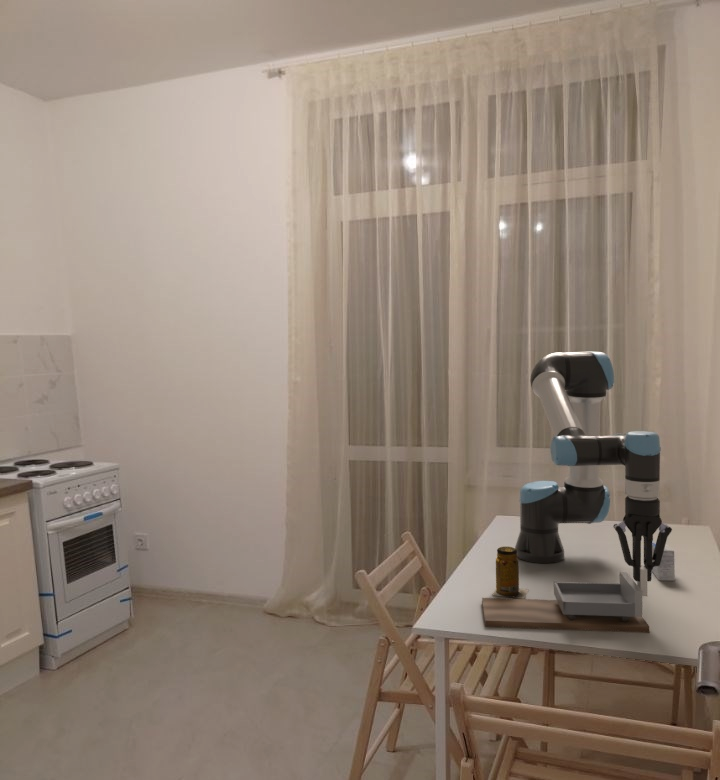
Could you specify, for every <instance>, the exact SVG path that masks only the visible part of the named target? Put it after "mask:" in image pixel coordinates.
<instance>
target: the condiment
mask: <svg viewBox="0 0 720 780" xmlns="http://www.w3.org/2000/svg"><path fill="white" fill-rule="evenodd" d="M496 552H497V554H496V558H495V590H494V591H493V592H492V596H498V597H501V598H502V597H504V598H512V599H526V596H527V595H528V592H529V589H527V588H520V581H519V580H520V579H519V578H520V575H519V574H520V572H519V567H520V564H519V563H520V562H519V558H518V557H517V550H516V549H515V547H512V546H501V547H498V548H497V549H496Z"/></svg>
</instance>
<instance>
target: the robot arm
mask: <svg viewBox="0 0 720 780" xmlns="http://www.w3.org/2000/svg"><path fill="white" fill-rule="evenodd" d="M610 359H611V358H610V357H609V356H608V355H607V354H606V353H605V352H603V351H602V352H601V351H592V350H591V351H590V350H589V351H573V352H572V351H569V352H568V351H567V352H566V351H565V352H553V353H548V354H547V355H545V356H544V357H542V358H541V359H539V361H537V363H536V364H535V365H534V367H533V369H532V371H531V373H530V380H529V381H530V387H531V389H532V392H533V394H534V395H535V396H537V397H538V398H539V401H540V403H541V405H542V408H543V409H542V410H544V414H545V416H546V418H547V421H548V424H549V427H550V429H551V432H552V434H553V438H552V439H551V441H550V456H551V458H550V459H551V460H552V463H553V464H554V465H557V466H565V467H569V475H568V476H566V477H564V480H563V481H564V482H563V483H564V484H563V485H561V486H560V485H559V484H558V482H556V481H553V480H537V481H532V482H528V483H526V484H524V485H523V486H521V488H520V492H519V500H518V501H519V515H520V516H519V517H520V518H519V520H520V521H519V522H520V524H519V525H520V527H519V528H520V530H519V534H518V537H517V540H516V543H515V546H514V548H515V549H516V550H517V559H518V560H519V559H520V560H522V561H525V562H530V563H536V564H537V563H538V564H552V563H558V562H561V561H563V560H564V559H565V549H564V546H563V543H562V540H561V537H560V533H559V525H560V524H588V525H590V524H597V523H602V522H604V521H605V519H607V517H608V515H609V512H610V508H611V497H610V491H609V488H608V487H607V486H606V485H604V481H603V480H602V479H601V478H600V477H599V471H600V470H599V466H625V469H624V470H625V471H624V473H625V474H624V475H625V476H624V477H625V479H624V480H625V482H624V484H625V485H624V486H625V487H624V494H625V495H626V496H625V498H624V517H623V518H622V521H621V522H619V523H618V524H617V523H614V524H613V527H612V528H613V529H614V530H615V531H616V533H617V535H618V540H619V544H620V547H621V551H622V556H623V559H624V561H625V563H626V564H627V565H628V566H630V567H632V579H633V581H634V582H636V584H637V586H638V587H639V588H640V589H641V590H642V597H648V582H651V581H652V576H653V575H652V573H653V572H652V569H653V567H655V566H660V563H661V559H662V556H663V552H664V548H665V544H666V543H667V540H668V537H669V535H670V534H671V533H672V531H673V529H672V527H671V526H669V525H668V524H665V523H663V521H662V520H663V519H662V518H661V515H660V513H661V504H660V503H661V501H660V499H659V497H660V494H661V491H660V490H661V489H660V488H661V487H660V485H661V481H660V480H661V479H660V478H661V472H660V471H661V468H660V467H661V451H662V450H661V449H662V446H661V443H660V442H661V441H660V436H659V434H658V433H657V432H653V431H646V430H645V431H643V430H634V431H628V432H627V433H621V432H620V433H614V434H611V435H601V434H600V433H601V430H600V428H601V403H602V401H603V400H604V399H605V398H607V391H609V390H612V388H613V387H614V383H615V373H614V367H613V364H612V361H611V360H610ZM626 527H627V529H628V530H629V531H630V533H631V537H632V551H631V550H630V548H629V542H628V539H627V536H626V533H625V532H627V531H626ZM657 530H658V534H657V538H656V542H655V543H656V545H655V549H654V553H653V557H652V543H653V540H654V534H656V532H657ZM642 537H643V565H641V564H642V558H641V557H642V555H641V554H642ZM631 553H632V555H631Z"/></svg>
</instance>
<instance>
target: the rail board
mask: <svg viewBox="0 0 720 780" xmlns="http://www.w3.org/2000/svg"><path fill="white" fill-rule="evenodd" d="M481 603H482V604H481V605H482V610H483V618H484V619H483V620H484V627H486V628H487V627H488V628H512V629H513V628H514V629H534V630H535V629H537V630H538V629H543V630H564V631H566V630H569V631H595V632H596V631H597V632H598V631H599V632H621V633H623V632H624V633H650V625H649V623H648V622H647V621H646V619H645V618H644V617H643V616H642V617H629V620H628V621H627V622H623V621H622V619H621V616H596V615H575V619H574V620H569V618H568V616H567V615H566V614H563V613H562V611H561V608H560V606H559V604H558V601H557V599H535V598H534V599H533V598H532V599H531V598H525V599H522V598H507V597H504V598H502V597H500V598H499V597H496V598H495V597H481Z"/></svg>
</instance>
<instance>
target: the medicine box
mask: <svg viewBox="0 0 720 780" xmlns="http://www.w3.org/2000/svg"><path fill="white" fill-rule="evenodd" d="M655 545H656V542H652V557H653V553H654V549H655ZM652 573H653V575H654V576H655V577H656V579H657V580H658V581H662V582H663V581H664V582H666V581H667V582H669V581H670V582H675V581H676V578H675V576H676V574H675V573H676V570H675V551H674V549H673V548H672V547H671V546H670V545H669V544H668V543H667V542H666V544H665V548H664V552H663V556H662V559H661V563H660V566H655V567H653V569H652Z"/></svg>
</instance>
